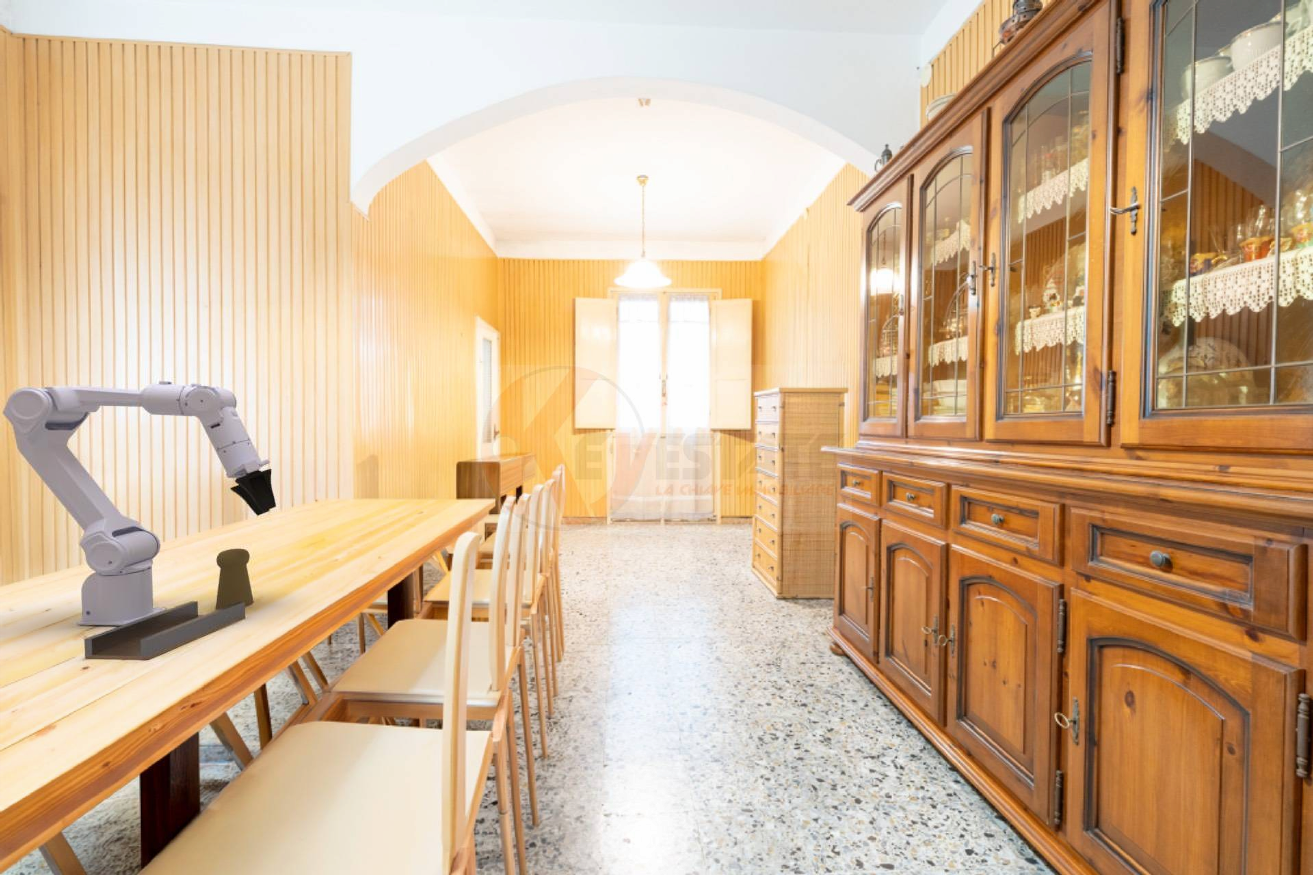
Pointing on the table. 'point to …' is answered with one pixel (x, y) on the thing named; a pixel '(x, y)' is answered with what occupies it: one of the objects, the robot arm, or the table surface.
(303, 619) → the table surface
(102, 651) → the rail
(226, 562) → the olive knobbed tapered piece
